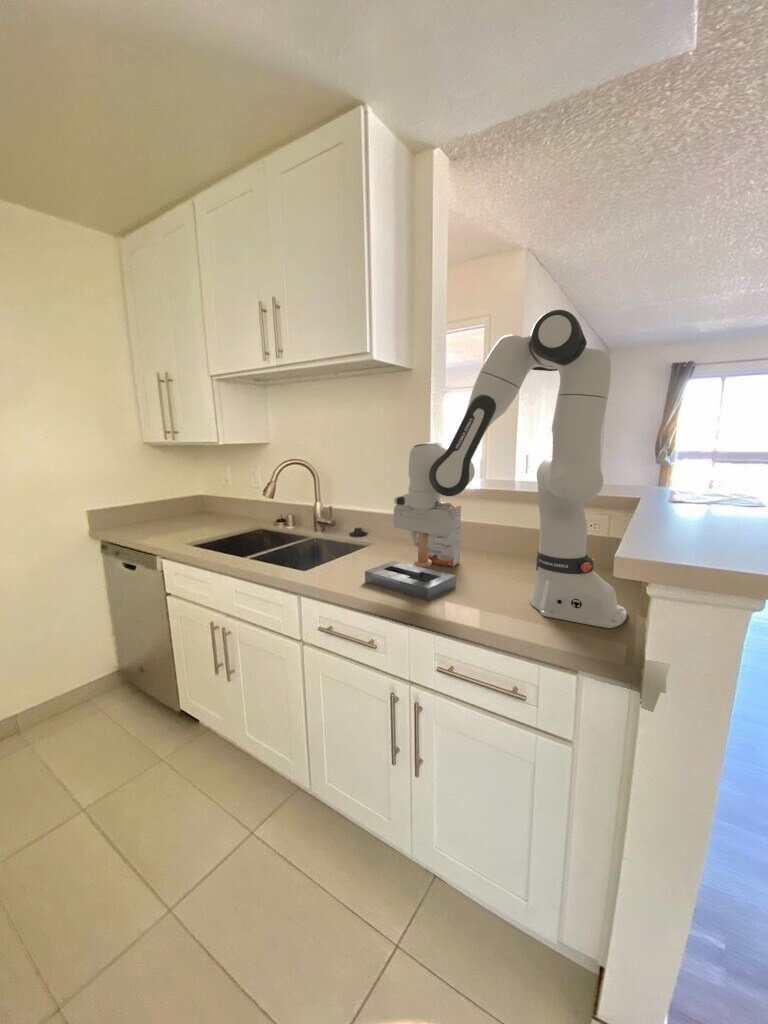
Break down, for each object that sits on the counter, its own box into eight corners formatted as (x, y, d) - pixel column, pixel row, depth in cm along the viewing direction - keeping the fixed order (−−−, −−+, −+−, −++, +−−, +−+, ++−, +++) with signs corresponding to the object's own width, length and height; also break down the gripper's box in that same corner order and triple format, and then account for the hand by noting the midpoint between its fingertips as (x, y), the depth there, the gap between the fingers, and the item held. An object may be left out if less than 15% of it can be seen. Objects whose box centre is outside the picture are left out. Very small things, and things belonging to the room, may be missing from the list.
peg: (434, 564, 121) (435, 527, 119) (424, 568, 118) (425, 530, 116) (421, 560, 124) (421, 525, 123) (411, 564, 121) (411, 527, 119)
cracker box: (417, 561, 149) (417, 504, 146) (425, 557, 154) (425, 501, 150) (452, 567, 141) (453, 507, 138) (460, 563, 146) (461, 504, 143)
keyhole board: (455, 587, 123) (455, 575, 123) (428, 601, 113) (428, 588, 112) (394, 571, 139) (394, 560, 138) (365, 582, 129) (364, 571, 128)
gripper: (461, 502, 113) (460, 551, 116) (403, 495, 127) (403, 539, 129) (448, 505, 109) (447, 556, 111) (389, 498, 122) (390, 543, 124)
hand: (423, 547), depth 120 cm, fingers closed on peg, 3 cm apart
